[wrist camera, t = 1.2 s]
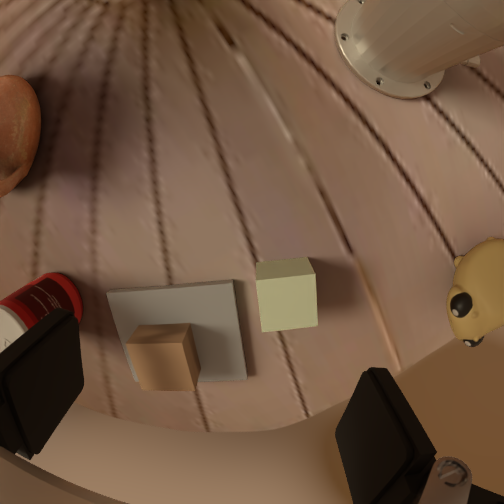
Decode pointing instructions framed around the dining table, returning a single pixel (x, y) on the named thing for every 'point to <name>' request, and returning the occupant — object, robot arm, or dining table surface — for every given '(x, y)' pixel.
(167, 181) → the dining table surface
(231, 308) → the plate
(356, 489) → the robot arm
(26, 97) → the ceramic jug
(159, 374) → the walnut brick
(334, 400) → the dining table surface
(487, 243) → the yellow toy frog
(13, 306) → the canned food
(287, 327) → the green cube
